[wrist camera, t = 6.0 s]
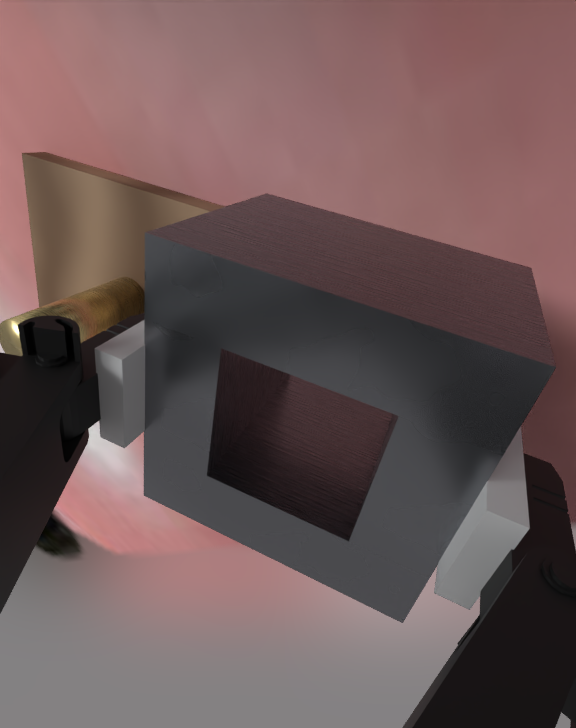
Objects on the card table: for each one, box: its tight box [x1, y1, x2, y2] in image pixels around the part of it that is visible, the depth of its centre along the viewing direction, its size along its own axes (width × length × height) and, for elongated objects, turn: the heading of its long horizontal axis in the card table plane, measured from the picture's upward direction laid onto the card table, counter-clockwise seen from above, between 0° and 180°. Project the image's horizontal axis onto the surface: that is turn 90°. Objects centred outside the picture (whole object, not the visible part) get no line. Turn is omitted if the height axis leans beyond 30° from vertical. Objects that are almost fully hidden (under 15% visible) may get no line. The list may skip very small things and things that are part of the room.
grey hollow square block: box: [144, 194, 556, 623], centre depth 13 cm, size 8×8×6 cm
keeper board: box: [22, 152, 224, 308], centre depth 26 cm, size 14×12×2 cm
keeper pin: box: [0, 277, 145, 356], centre depth 22 cm, size 2×2×7 cm
